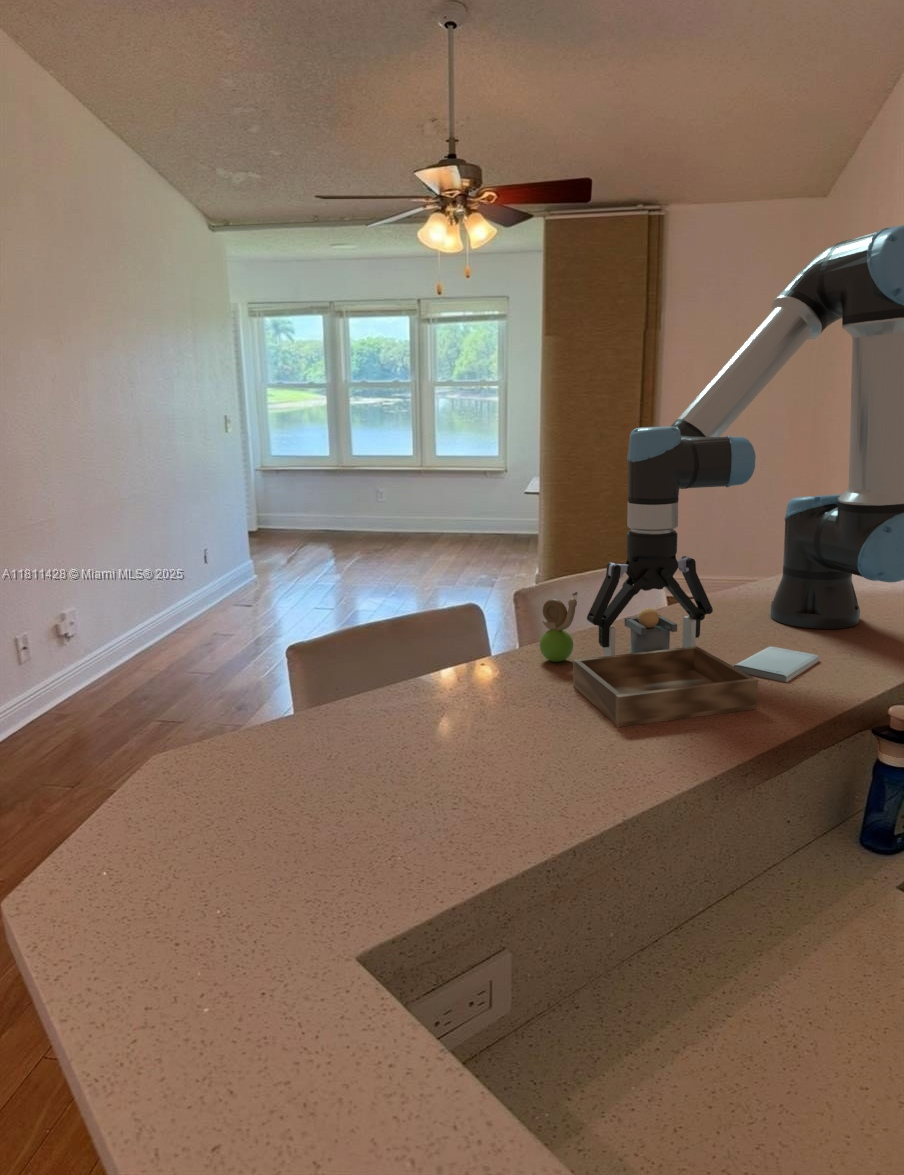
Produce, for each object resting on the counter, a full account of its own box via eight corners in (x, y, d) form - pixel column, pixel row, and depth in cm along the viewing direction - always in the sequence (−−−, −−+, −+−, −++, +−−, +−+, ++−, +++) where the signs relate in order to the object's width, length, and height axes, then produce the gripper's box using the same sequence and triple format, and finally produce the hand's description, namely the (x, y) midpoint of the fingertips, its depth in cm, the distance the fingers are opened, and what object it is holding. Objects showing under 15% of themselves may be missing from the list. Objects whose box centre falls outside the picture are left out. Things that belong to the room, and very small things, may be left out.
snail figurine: (568, 669, 125) (568, 595, 123) (533, 662, 129) (532, 591, 126) (584, 660, 130) (584, 588, 127) (550, 654, 133) (549, 584, 131)
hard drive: (786, 675, 116) (819, 654, 124) (733, 664, 122) (768, 644, 130) (786, 686, 116) (818, 664, 125) (732, 674, 122) (767, 654, 130)
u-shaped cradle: (658, 657, 130) (659, 614, 128) (676, 668, 124) (677, 624, 122) (624, 660, 129) (624, 618, 127) (640, 672, 123) (641, 627, 121)
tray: (695, 671, 122) (696, 646, 121) (756, 708, 107) (757, 680, 106) (573, 686, 118) (573, 659, 117) (618, 726, 103) (618, 697, 102)
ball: (654, 625, 127) (652, 605, 127) (663, 627, 124) (661, 607, 124) (636, 628, 126) (633, 608, 126) (644, 630, 123) (642, 610, 123)
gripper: (713, 521, 128) (708, 647, 132) (566, 531, 122) (566, 662, 127) (739, 527, 120) (733, 660, 125) (584, 539, 115) (584, 677, 120)
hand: (649, 661), depth 126 cm, fingers open, 13 cm apart
